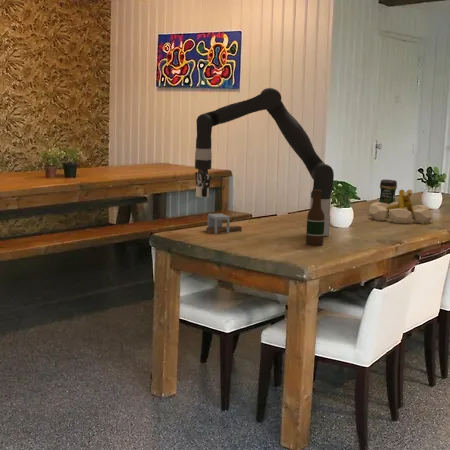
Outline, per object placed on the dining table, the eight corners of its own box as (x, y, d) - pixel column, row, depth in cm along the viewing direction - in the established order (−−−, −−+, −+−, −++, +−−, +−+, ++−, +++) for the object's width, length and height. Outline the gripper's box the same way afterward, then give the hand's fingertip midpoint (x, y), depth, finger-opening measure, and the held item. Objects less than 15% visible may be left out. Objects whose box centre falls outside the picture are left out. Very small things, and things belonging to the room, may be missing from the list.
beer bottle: (302, 242, 298) (305, 188, 294) (317, 242, 301) (321, 188, 297) (310, 246, 291) (313, 190, 287) (326, 245, 294) (330, 190, 290)
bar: (241, 232, 320) (241, 226, 320) (208, 233, 313) (208, 228, 312) (238, 231, 323) (239, 225, 322) (206, 232, 315) (206, 227, 315)
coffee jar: (376, 210, 403) (378, 179, 399) (380, 209, 409) (382, 178, 406) (392, 212, 398) (394, 180, 395) (396, 210, 405) (398, 179, 401)
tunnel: (229, 233, 315) (229, 216, 313) (215, 233, 312) (215, 217, 310) (221, 229, 323) (221, 213, 322) (207, 230, 321) (207, 213, 319)
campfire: (435, 226, 355) (438, 194, 352) (369, 222, 360) (371, 190, 357) (427, 216, 389) (429, 186, 386) (366, 213, 394) (368, 183, 391)
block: (208, 197, 310) (208, 187, 310) (199, 197, 309) (199, 187, 308) (204, 195, 314) (205, 186, 314) (195, 196, 313) (196, 186, 312)
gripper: (190, 157, 314) (189, 194, 316) (201, 159, 301) (200, 198, 304) (205, 157, 316) (204, 193, 319) (216, 159, 304) (215, 197, 307)
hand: (202, 195), depth 311 cm, fingers closed on block, 4 cm apart
